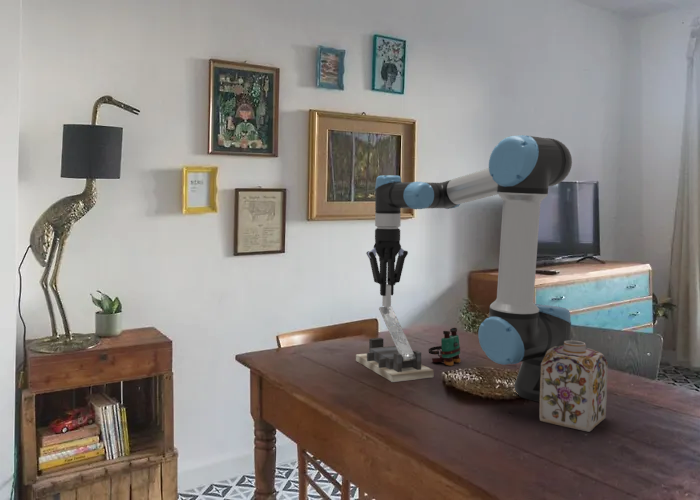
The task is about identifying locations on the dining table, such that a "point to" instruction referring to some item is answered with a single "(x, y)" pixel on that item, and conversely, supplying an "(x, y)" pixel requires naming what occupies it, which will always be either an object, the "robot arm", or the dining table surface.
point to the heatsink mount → (393, 363)
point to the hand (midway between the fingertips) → (386, 306)
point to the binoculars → (448, 348)
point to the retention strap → (397, 333)
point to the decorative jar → (573, 386)
